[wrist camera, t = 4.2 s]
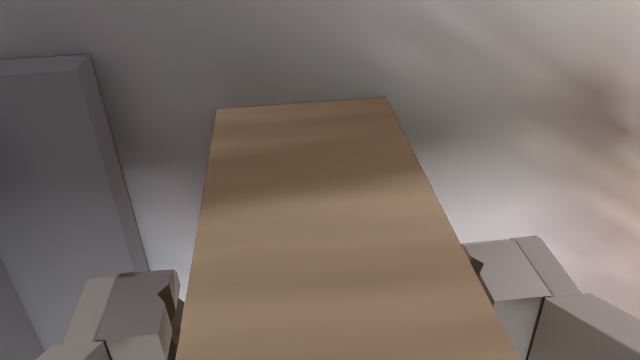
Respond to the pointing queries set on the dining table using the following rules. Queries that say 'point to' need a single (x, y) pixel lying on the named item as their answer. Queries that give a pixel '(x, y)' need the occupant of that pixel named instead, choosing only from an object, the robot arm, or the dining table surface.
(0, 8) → the dining table surface
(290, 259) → the wood plug
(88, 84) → the socket board
